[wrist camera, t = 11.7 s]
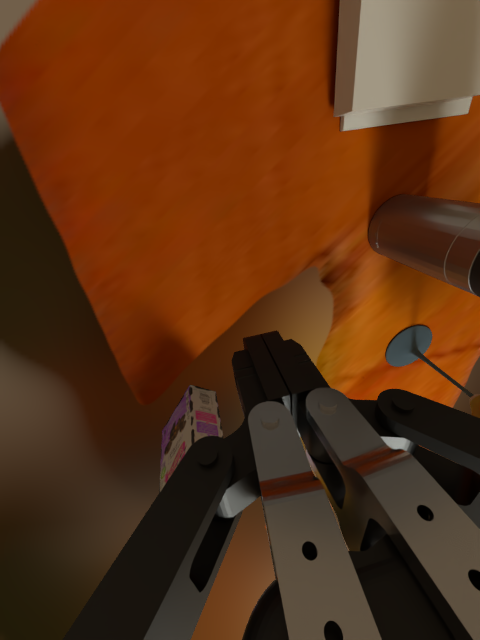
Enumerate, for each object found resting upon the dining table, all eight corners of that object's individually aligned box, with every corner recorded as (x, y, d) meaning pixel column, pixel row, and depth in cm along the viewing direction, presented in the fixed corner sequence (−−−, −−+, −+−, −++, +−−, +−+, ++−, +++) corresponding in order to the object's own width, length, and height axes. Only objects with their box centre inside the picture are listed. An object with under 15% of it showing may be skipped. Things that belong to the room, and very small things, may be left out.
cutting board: (508, -63, 28) (516, -68, 27) (462, 114, 36) (467, 113, 35) (352, -54, 26) (356, -60, 25) (339, 131, 34) (343, 130, 33)
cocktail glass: (458, 302, 54) (640, 391, 33) (432, 368, 63) (561, 470, 42) (378, 318, 51) (518, 425, 30) (363, 385, 61) (463, 501, 40)
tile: (340, -35, 26) (481, -44, 28) (332, 117, 32) (447, 102, 34) (366, -68, 22) (527, -76, 24) (352, 111, 28) (480, 94, 30)
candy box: (189, 383, 50) (194, 467, 36) (216, 390, 52) (231, 472, 38) (161, 430, 55) (155, 520, 41) (187, 435, 57) (190, 522, 43)
